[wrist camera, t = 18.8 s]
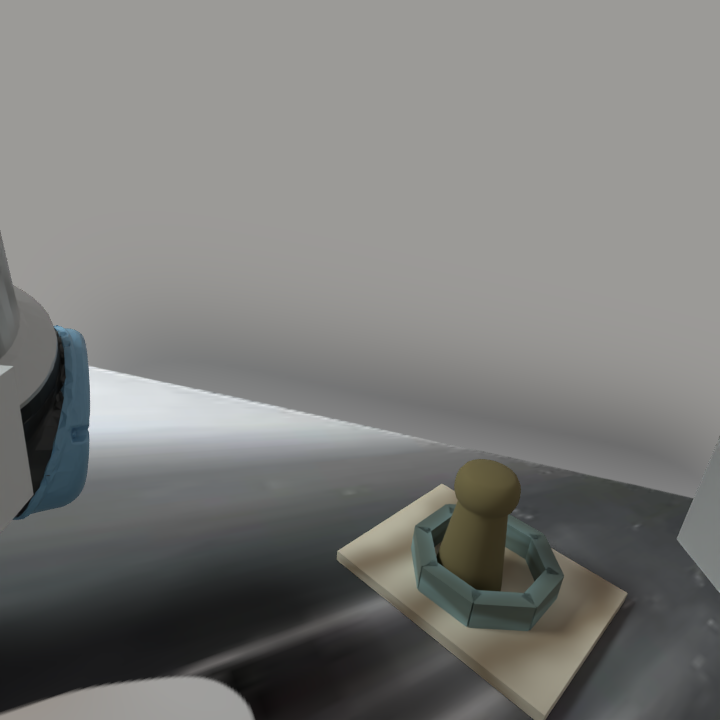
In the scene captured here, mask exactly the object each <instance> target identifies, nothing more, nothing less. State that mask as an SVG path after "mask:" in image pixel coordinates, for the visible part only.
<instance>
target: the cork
mask: <svg viewBox="0 0 720 720" xmlns="http://www.w3.org/2000/svg"><path fill="white" fill-rule="evenodd" d="M454 488H455V494H456V498H457V500H458V501H457V504H456V506H455V509H454V511H453V514H452V517H451V519H450V522H449V525H448V527H447V530H446V533H445V535H444V538H443V540H442V543H441V546H440V548H439V551H438V554H437V556H436V558H437V563H439V564H440V565H442V566H443V567H444V568H446V569H447V570H449V571H450V572H452V573H453V574H454V575H456V576H457V577H459V578H460V579H462V580H463V581H464V582H466V583H467V584H469V585H470V586H472V587H473V588H474V589H476V590H484V591H501V586H502V577H503V566H504V555H505V544H506V533H507V522H508V515H509V514H510V513H512V511H513V510H514V509H515V508H516V506H517V504H518V502H519V499H520V493H521V487H520V483H519V481H518V478H517V476H516V474H515V473H514V472H513V471H512V470H511V469H509V468H508V467H506V466H505V465H503V464H501V463H498V462H496V461H492V460H485V459H478V460H472V461H469V462H467V463H466V464H465V465H464V466H463V467H461V468H460V469H459V471H458V473H457V476H456V479H455V484H454Z"/></svg>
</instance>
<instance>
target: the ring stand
mask: <svg viewBox="0 0 720 720" xmlns="http://www.w3.org/2000/svg"><path fill="white" fill-rule="evenodd" d="M457 501H458V500H457V498H456V494H455V491H453V490H452V489H450V488H448V487H446V486H445V485H443V484H441V485H439V486H438V487H436V488H435V489H433V490H432V491H430V492H429V493H427V494H425V495H424V496H422V497H421V498H419V499H418V500H416V501H415V502H413V503H411V504H410V505H408V506H407V507H405V508H404V509H402V510H401V511H399V512H398V513H396V514H394V515H393V516H391V517H390V518H388V519H387V520H385V521H384V522H382V523H380V524H379V525H377V526H376V527H374V528H373V529H371V530H370V531H368V532H366V533H365V534H363V535H362V536H360V537H359V538H357V539H356V540H354V541H352V542H351V543H349V544H348V545H346V546H345V547H343V548H342V549H340V550H338V552H337V560H338V561H339V562H340V563H341V564H342V565H344V566H345V567H346V568H347V569H349V570H350V571H351V572H352V573H354V574H355V575H356V576H357V577H359V578H360V579H361V580H362V581H363V582H365V583H366V584H367V585H368V586H370V587H371V588H372V589H373V590H375V591H376V592H377V593H378V594H380V595H381V596H382V597H383V598H384V599H386V600H387V601H388V602H389V603H391V604H392V605H393V606H394V607H396V608H397V609H398V610H399V611H400V612H402V613H403V614H404V615H405V616H407V617H408V618H409V619H410V620H412V621H413V622H414V623H415V624H417V625H418V626H419V627H420V628H421V629H423V630H424V631H425V632H426V633H428V634H429V635H430V636H431V637H433V638H434V639H435V640H436V641H438V642H439V643H440V644H441V645H442V646H444V647H445V648H446V649H447V650H449V651H450V652H451V653H452V654H454V655H455V656H456V657H457V658H459V659H460V660H461V661H462V662H463V663H465V664H466V665H467V666H468V667H470V668H471V669H472V670H473V671H475V672H476V673H477V674H478V675H479V676H481V677H482V678H483V679H484V680H486V681H487V682H488V683H489V684H491V685H492V686H493V687H494V688H496V689H497V690H498V691H499V692H500V693H502V694H503V695H504V696H505V697H507V698H508V699H509V700H510V701H512V702H513V703H514V704H515V705H517V706H518V707H519V708H520V709H521V710H523V711H524V712H525V713H526V714H528V715H529V716H530V717H531V718H533V719H534V720H546V718H547V717H548V715H549V714H550V712H551V711H552V709H553V708H554V706H555V705H556V703H557V702H558V700H559V699H560V697H561V696H562V694H563V693H564V691H565V690H566V688H567V687H568V685H569V684H570V682H571V681H572V679H573V678H574V676H575V675H576V673H577V672H578V670H579V669H580V667H581V666H582V664H583V663H584V661H585V660H586V658H587V657H588V655H589V654H590V652H591V651H592V649H593V648H594V646H595V645H596V643H597V642H598V640H599V639H600V637H601V636H602V634H603V633H604V631H605V630H606V628H607V627H608V625H609V624H610V622H611V621H612V619H613V618H614V616H615V615H616V613H617V612H618V610H619V609H620V607H621V606H622V604H623V603H624V601H625V598H626V596H627V593H626V592H625V591H623V590H621V589H620V588H618V587H616V586H615V585H613V584H611V583H610V582H608V581H606V580H604V579H603V578H601V577H599V576H598V575H596V574H594V573H593V572H591V571H589V570H587V569H586V568H584V567H582V566H581V565H579V564H577V563H576V562H574V561H572V560H570V559H569V558H567V557H565V556H564V555H562V554H560V553H559V552H557V551H555V550H553V549H552V548H551V547H550V545H549V543H548V541H547V539H546V537H545V535H543V534H542V533H541V532H539V531H537V530H536V529H534V528H532V527H530V526H529V525H527V524H525V523H523V522H522V521H520V520H518V519H516V518H515V517H513V516H511V515H510V514H509V515H508V522H507V533H506V544H505V555H504V566H503V577H502V586H501V591H484V590H476V589H474V588H473V587H472V586H470V585H469V584H467V583H466V582H464V581H463V580H462V579H460V578H459V577H457V576H456V575H454V574H453V573H452V572H450V571H449V570H447V569H446V568H444V567H443V566H442V565H440V564H439V563H437V558H436V556H437V554H438V551H439V548H440V546H441V543H442V540H443V538H444V535H445V533H446V530H447V527H448V525H449V522H450V519H451V517H452V514H453V511H454V509H455V506H456V504H457Z"/></svg>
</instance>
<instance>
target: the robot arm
mask: <svg viewBox="0 0 720 720" xmlns="http://www.w3.org/2000/svg"><path fill="white" fill-rule="evenodd" d="M89 417H90V384H89V367H88V357H87V349H86V344H85V340H84V338H83V336H82V334H80V333H79V332H78V331H76V330H73V329H64V328H63V327H60V326H58V325H56V326H53V324H52V321H51V319H50V317H49V315H48V313H47V312H46V311H45V309H44V308H43V307H42V306H41V304H39V303H38V302H37V301H36V300H35V299H34V298H33V297H31V296H30V295H29V294H27V293H26V292H24V291H23V290H21V289H19V288H17V287H16V286H14V285H13V284H12V280H11V275H10V271H9V267H8V262H7V258H6V254H5V250H4V246H3V241H2V237H1V233H0V534H1V532H2V531H3V530H4V529H5V528H6V527H7V525H8V524H9V523H10V522H11V521H12V520H19V519H23V518H25V517H27V516H29V515H30V514H32V513H36V512H41V511H45V510H50V509H54V508H59V507H62V506H65V505H67V504H69V503H71V502H72V501H73V500H75V499H76V498H77V497H78V496H79V494H80V493H81V491H82V489H83V487H84V485H85V481H86V476H87V470H88V459H89V432H88V427H89ZM677 540H678V541H679V543H680V544H681V545H682V546H683V548H684V549H685V550H686V551H687V553H688V554H689V555H690V556H691V558H692V559H693V560H694V561H695V563H696V564H697V565H698V566H699V568H700V569H701V570H702V571H703V573H704V574H705V575H706V576H707V578H708V579H709V580H710V581H711V583H712V584H713V585H714V586H715V588H716V589H717V590H718V591H719V593H720V437H719V439H718V442H717V444H716V447H715V449H714V451H713V454H712V456H711V458H710V461H709V463H708V466H707V468H706V470H705V473H704V475H703V478H702V480H701V482H700V485H699V487H698V490H697V492H696V494H695V497H694V499H693V501H692V504H691V506H690V508H689V511H688V513H687V516H686V518H685V520H684V523H683V525H682V528H681V530H680V532H679V535H678V537H677Z"/></svg>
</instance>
